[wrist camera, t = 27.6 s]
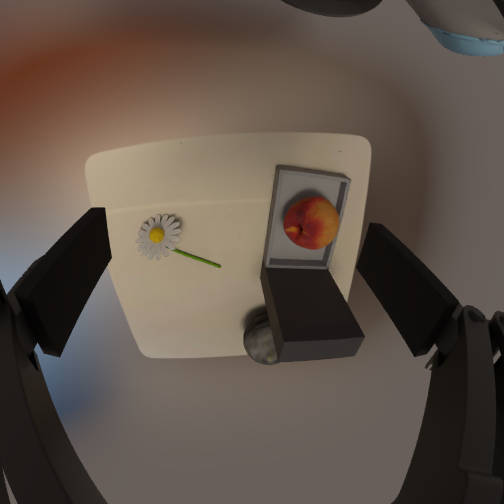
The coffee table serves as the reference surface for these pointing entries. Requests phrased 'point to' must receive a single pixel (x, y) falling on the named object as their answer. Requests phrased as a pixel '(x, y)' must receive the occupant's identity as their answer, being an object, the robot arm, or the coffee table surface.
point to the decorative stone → (260, 341)
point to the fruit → (311, 223)
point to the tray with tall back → (305, 276)
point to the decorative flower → (162, 239)
